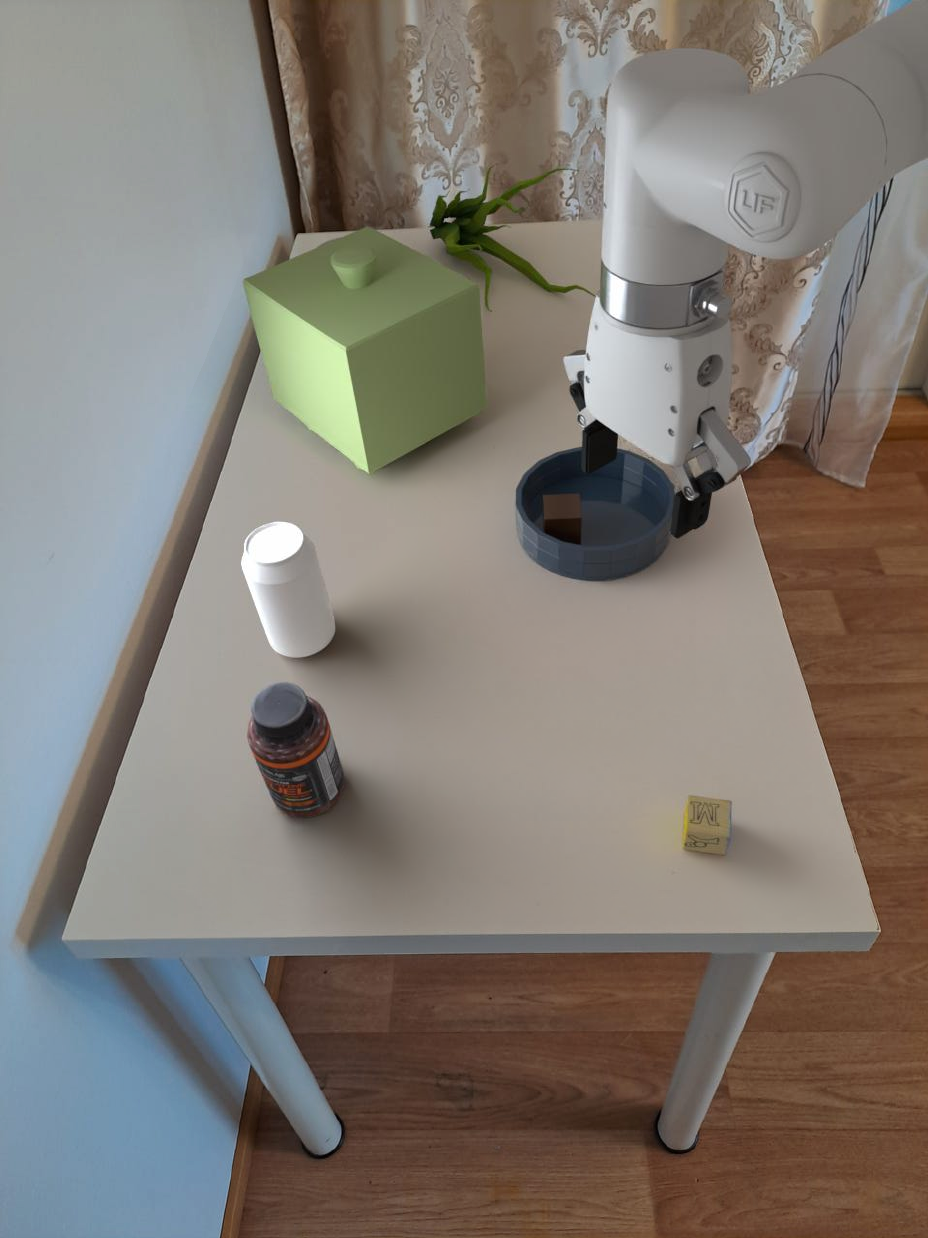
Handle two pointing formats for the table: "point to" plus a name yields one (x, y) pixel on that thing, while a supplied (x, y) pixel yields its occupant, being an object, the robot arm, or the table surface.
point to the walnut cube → (563, 517)
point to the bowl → (598, 515)
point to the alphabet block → (707, 825)
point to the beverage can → (288, 589)
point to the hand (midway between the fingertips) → (641, 495)
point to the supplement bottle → (295, 750)
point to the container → (370, 345)
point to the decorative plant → (471, 226)
